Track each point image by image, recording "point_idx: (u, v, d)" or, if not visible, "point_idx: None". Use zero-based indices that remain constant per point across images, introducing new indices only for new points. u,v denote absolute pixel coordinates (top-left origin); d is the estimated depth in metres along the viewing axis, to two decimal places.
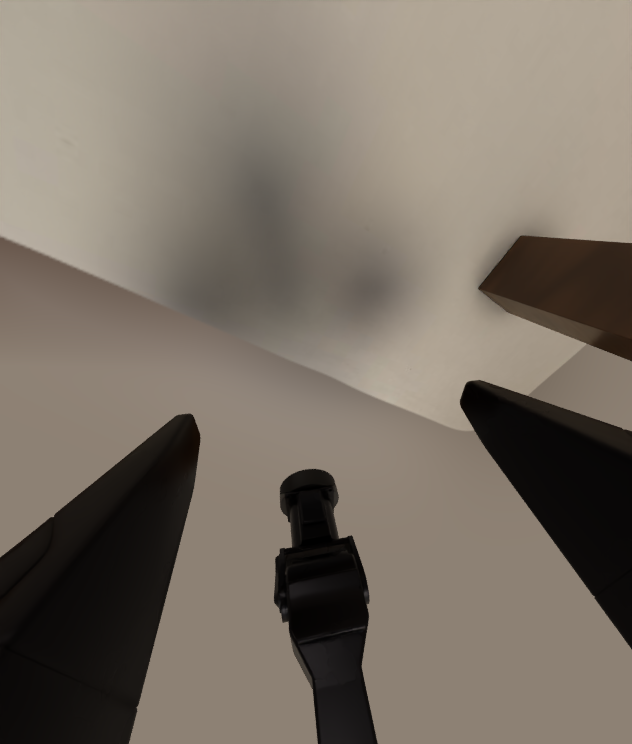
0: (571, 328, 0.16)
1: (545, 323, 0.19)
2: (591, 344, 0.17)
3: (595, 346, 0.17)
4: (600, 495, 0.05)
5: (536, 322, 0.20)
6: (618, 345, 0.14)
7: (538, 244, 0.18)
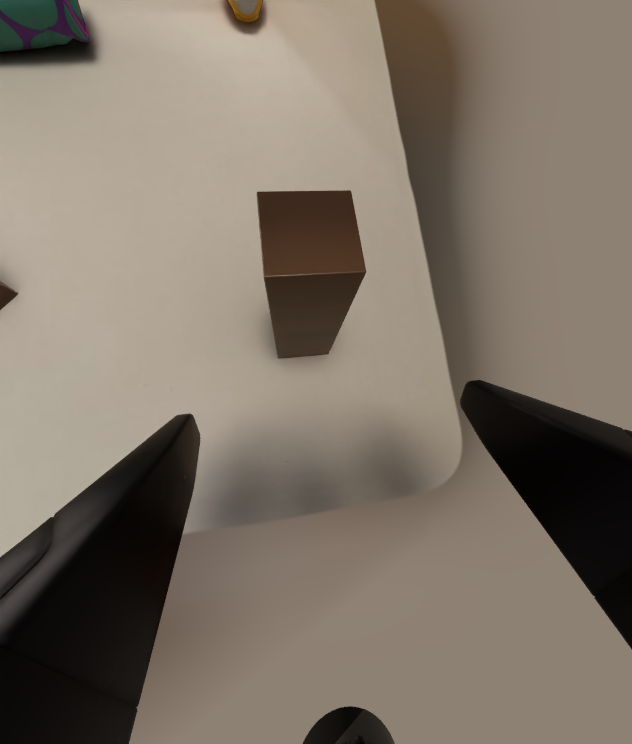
0: (304, 324, 0.16)
1: (319, 337, 0.19)
2: (339, 320, 0.16)
3: (342, 319, 0.16)
4: (600, 495, 0.05)
5: (327, 342, 0.20)
6: (305, 304, 0.14)
7: None
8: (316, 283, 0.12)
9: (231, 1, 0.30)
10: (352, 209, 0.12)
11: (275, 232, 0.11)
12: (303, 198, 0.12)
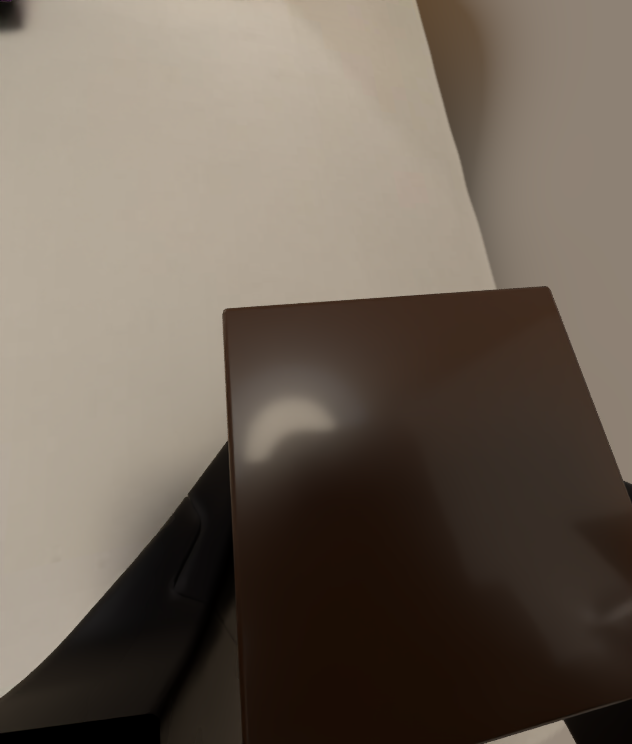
0: None
1: None
2: None
3: None
4: None
5: None
6: None
7: None
8: None
9: None
10: (571, 361, 0.03)
11: (300, 506, 0.03)
12: (397, 328, 0.03)
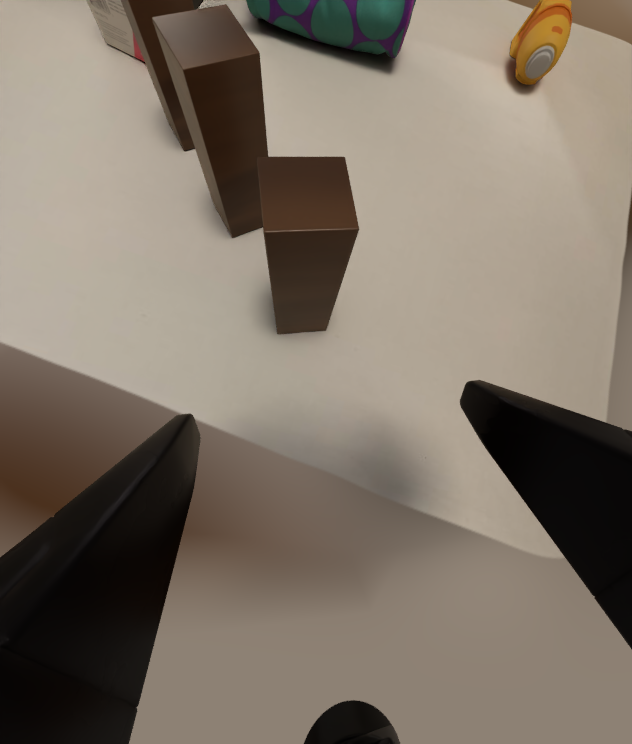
0: (302, 291, 0.17)
1: (317, 309, 0.19)
2: (335, 287, 0.17)
3: (338, 286, 0.17)
4: (600, 495, 0.05)
5: (325, 315, 0.21)
6: (303, 266, 0.14)
7: None
8: (312, 241, 0.13)
9: (522, 64, 0.33)
10: (346, 173, 0.13)
11: (274, 193, 0.12)
12: (300, 163, 0.13)
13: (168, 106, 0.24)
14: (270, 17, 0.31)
